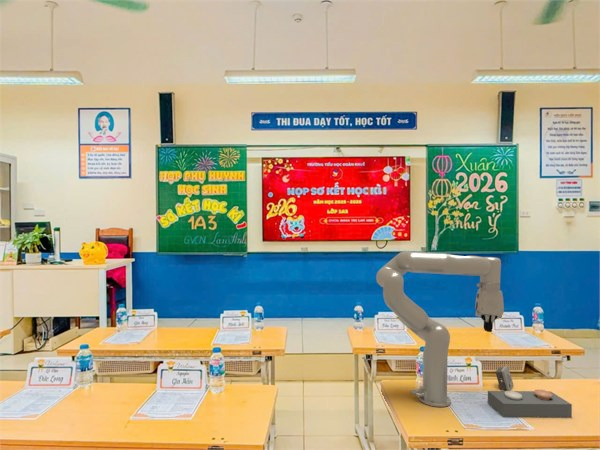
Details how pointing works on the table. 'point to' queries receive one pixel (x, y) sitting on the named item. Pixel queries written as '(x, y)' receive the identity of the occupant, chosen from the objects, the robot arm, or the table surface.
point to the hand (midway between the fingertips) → (487, 331)
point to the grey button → (513, 395)
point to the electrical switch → (504, 378)
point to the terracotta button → (543, 394)
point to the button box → (529, 405)
